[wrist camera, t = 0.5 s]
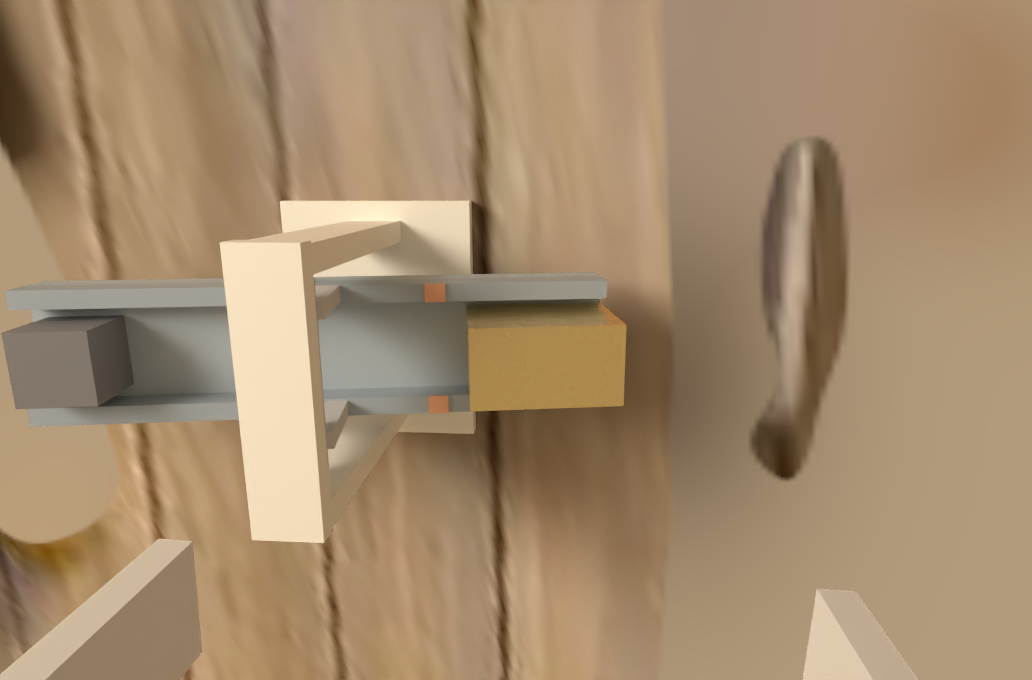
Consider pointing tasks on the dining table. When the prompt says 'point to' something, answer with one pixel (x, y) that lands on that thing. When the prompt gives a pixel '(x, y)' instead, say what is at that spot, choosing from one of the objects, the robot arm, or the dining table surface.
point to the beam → (208, 357)
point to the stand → (295, 350)
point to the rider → (544, 356)
